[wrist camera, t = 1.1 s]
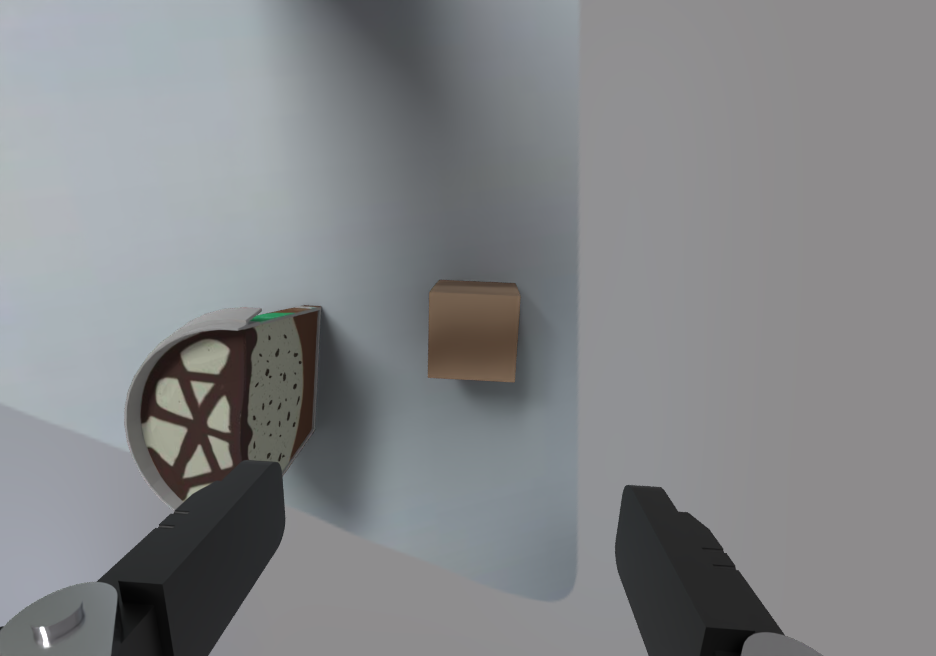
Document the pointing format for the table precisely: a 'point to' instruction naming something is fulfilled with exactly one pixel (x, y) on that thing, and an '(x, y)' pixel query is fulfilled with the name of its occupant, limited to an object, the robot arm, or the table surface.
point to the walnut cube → (473, 330)
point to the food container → (224, 397)
